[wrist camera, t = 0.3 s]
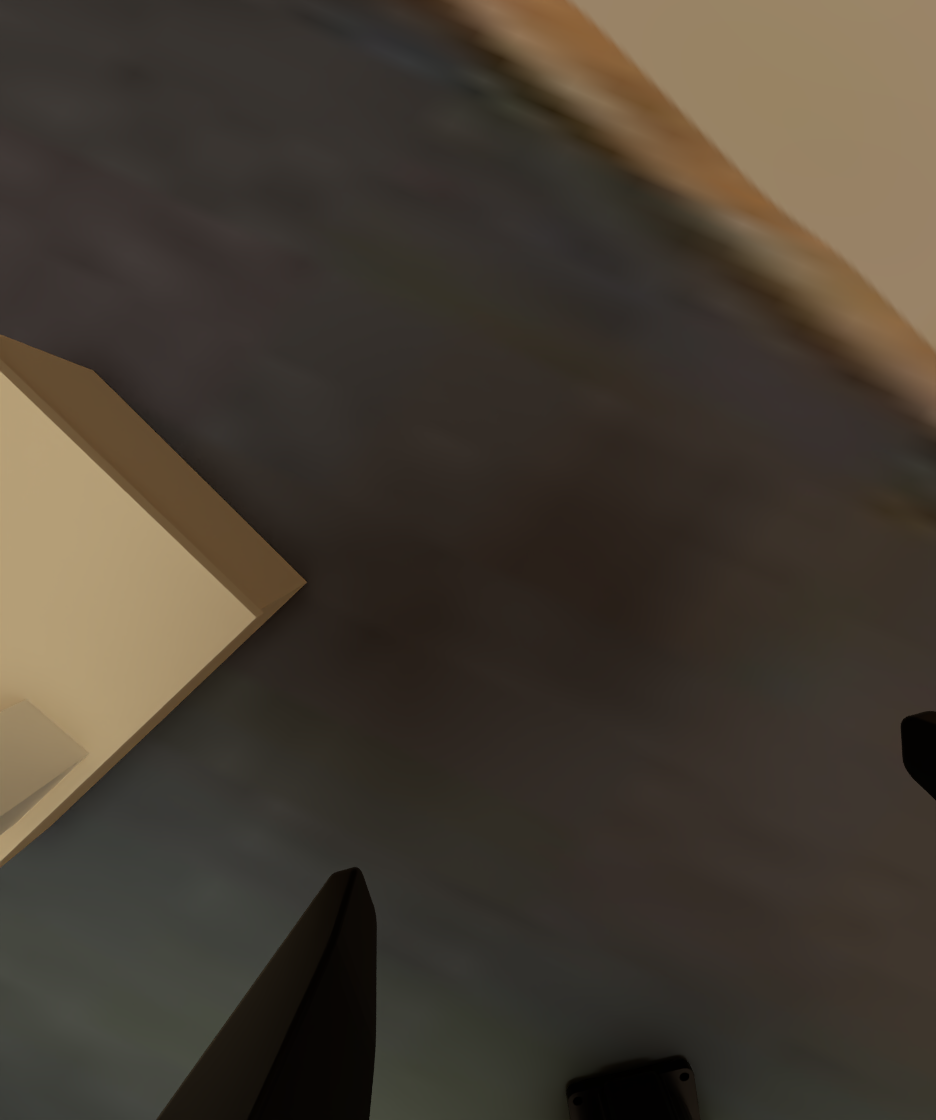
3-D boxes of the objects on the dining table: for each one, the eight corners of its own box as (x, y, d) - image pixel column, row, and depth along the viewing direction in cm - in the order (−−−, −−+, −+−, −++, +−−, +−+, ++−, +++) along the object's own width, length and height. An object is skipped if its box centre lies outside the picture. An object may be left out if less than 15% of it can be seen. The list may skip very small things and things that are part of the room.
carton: (307, 582, 21) (254, 612, 15) (50, 826, 22) (-97, 947, 16) (93, 370, 20) (-57, 312, 14) (-176, 637, 20) (-432, 693, 14)
